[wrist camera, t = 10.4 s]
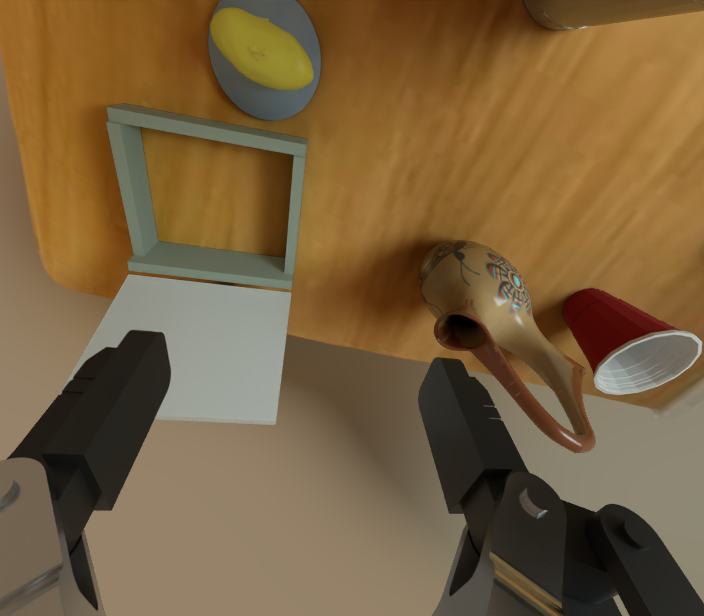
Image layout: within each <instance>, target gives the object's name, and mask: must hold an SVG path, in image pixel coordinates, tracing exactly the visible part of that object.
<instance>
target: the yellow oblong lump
mask: <svg viewBox="0 0 704 616" xmlns="http://www.w3.org/2000/svg"><path fill="white" fill-rule="evenodd" d="M210 29H211V35H212V38H213V40H214V42H215V44H216V46H217V47H218V49H219V50H220V51H221V52H222V54H223V55H224V56H225V57H226V58H227V59H228V60H229V61H230V62H231V63H232V64H233V66H234V67H235V68H236V69H237V70H238V71H239V72H240V73H242V74H243V75H245V77H247V78H249V79H251V80H252V81H255V82H256V83H258V84H261V85H263V86H265V87H269V88H273V89H277V90H286V91H290V90H298V89H301V88H303V87H305V86H307V85H308V84H310V83H311V82H312V80H313V77H314V73H313V67H312V64H311V61H310V59H309V57H308V55H307V53H306V52H305V50H304V49H303V48H302V46H301V45H300V44H299V43H298V42H297V40H296V39H295V38H294V37H293V36H292V35H291V34H289V33H288V32H286V31H284V30H282V29H280V28H279V27H277V26H275V25H274V24H272V23H271V22H269V19H265V18H260V17H257V16H254V15H252V14H250V13H248V12H246V11H244V10H242V9H239V8H233V7H228V8H223V9H221V10H219V11H218V12H217V13H216V14H215V15H214V17H213V19H212V21H211V24H210Z"/></svg>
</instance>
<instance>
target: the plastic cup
mask: <svg viewBox="0 0 704 616" xmlns="http://www.w3.org/2000/svg"><path fill="white" fill-rule="evenodd" d="M562 313H563V316H564V319H565V321H566V323H567V325H568V326H569V328H570V329H571V331H572V333H573V336H574V337H575V339H576V341H577V343H578V344H579V346H580V348H581V349H582V351H583V353H584V355H585V356H586V358H587V360H588V361H589V363H590V366H591V368H592V370H593V378H594V382H595V386H596V388H597V389H599V390H601V391H602V392H604V393H607V394H616V395H623V394H630V393H638V392H641V391H644V390H647V389H651V388H654V387H657V386H659V385H661V384H663V383H665V382H667V381H669V380H671V379H673V378H675V377H677V376H678V375H680V374H681V373H682V372H684V371H685V370H686V369H688V368H689V367H690V366H692V365H693V363H694V362H695V361H696V359H697V358H698V357H699V355H700V354H701V350H702V341H700V340H699V339H698V338H697V337H696V336H695V335H694V334H692V333H690V332H685V331H681V330H679V329H676V328H675V327H673V326H670V325H668V324H666V323H665V322H663V321H660V320H658V319H656V318H654V317H652V316H651V315H649V314H647V313H645V312H643V311H641V310H639V309H638V308H636V307H634V306H632V305H630V304H628V303H627V302H625V301H623V300H621V299H617V298H616V297H614V296H612V295H610V294H608V293H606V292H605V291H601V290H599V289H594V288H590V289H585V290H582V291H580V292H578V293H576V294H574V295H573V296H572V297H571V298H569V299H568V300H567V302H566V303H565V305H564V306H563V311H562Z"/></svg>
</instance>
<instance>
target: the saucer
mask: <svg viewBox="0 0 704 616" xmlns="http://www.w3.org/2000/svg"><path fill="white" fill-rule="evenodd" d="M228 7H233V8H239V9H242V10H244V11H246V12H248V13H250V14H252V15H254V16H257V17H260V18H265V19H269V22H271V23H272V24H274V25H275V26H277V27H279V28H280V29H282V30H284V31H286V32H288V33H289V34H291V35H292V36H293V37H294V38H295V39H296V40H297V42H298V43H299V44H300V45H301V46H302V48H303V49H304V50H305V52H306V53H307V55H308V57H309V59H310V61H311V64H312V67H313V73H314V77H313V80H312V82H311V83H310V84H308V85H307V86H305V87H303V88H301V89H298V90H290V91H286V90H277V89H273V88H269V87H265V86H263V85H261V84H258V83H256V82H255V81H252V80H251V79H249V78H247V77H245V75H243V74H242V73H240V72H239V71H238V70H237V69H236V68H235V67H234V66H233V64H232V63H231V62H230V61H229V60H228V59H227V58H226V57H225V56H224V55H223V54H222V52H221V51H220V50H219V49H218V47H217V46H216V44H215V42H214V40H213V38H212V35H211V29H210V26H209V34H208V48H209V56H210V61H211V65H212V68H213V71H214V74H215V76H216V78H217V80H218V82H219V84H220V86H221V88H222V89H223V91H224V92H225V93H226V95H227V96H228V97H229V98H230V99H231V101H232V102H233V103H234V104H236V105H237V106H238V107H239V108H240V109H242V110H243V111H244V112H246V113H248V114H250V115H252V116H254V117H256V118H260V119H263V120H270V121H274V120H283V119H286V118H289V117H291V116H293V115H295V114H297V113H298V112H300V111H301V110H302V109H303V108H304V107H305V106H306V105H307V104H308V102H309V101H310V100H311V98H312V96H313V95H314V93H315V90H316V88H317V85H318V81H319V77H320V71H321V53H320V46H319V41H318V38H317V34H316V32H315V29H314V26H313V24H312V22H311V20H310V18H309V17H308V15H307V14H306V12H305V10H304V9H303V8H302V7H301V5H300V4H299V3H298V2H297V1H296V0H221V1H220V2H219V3H218V5H217V7H216V9H215V10H214V13H213V16H212V18H211V21H212V19H213V17H214V15H215V14H216V13H217V12H218V11H219V10H221V9H223V8H228ZM210 24H211V22H210Z"/></svg>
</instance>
